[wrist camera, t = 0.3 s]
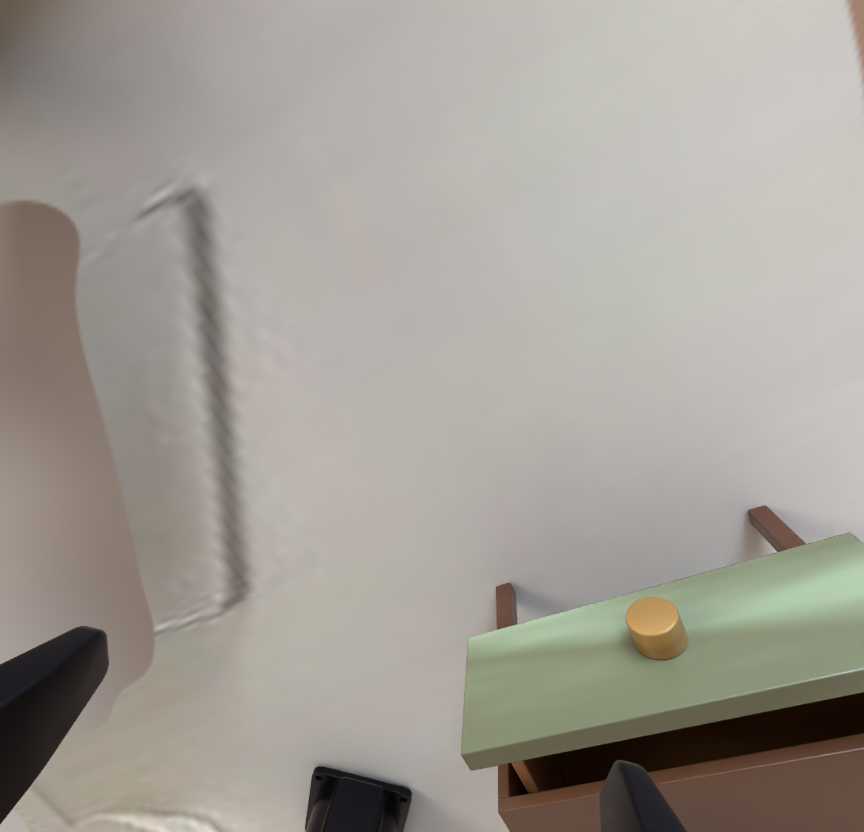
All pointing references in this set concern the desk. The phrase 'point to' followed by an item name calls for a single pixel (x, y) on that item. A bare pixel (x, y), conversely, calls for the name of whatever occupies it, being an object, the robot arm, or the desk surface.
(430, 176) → the desk surface
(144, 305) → the desk surface
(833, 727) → the drawer
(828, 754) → the drawer unit
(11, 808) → the robot arm
